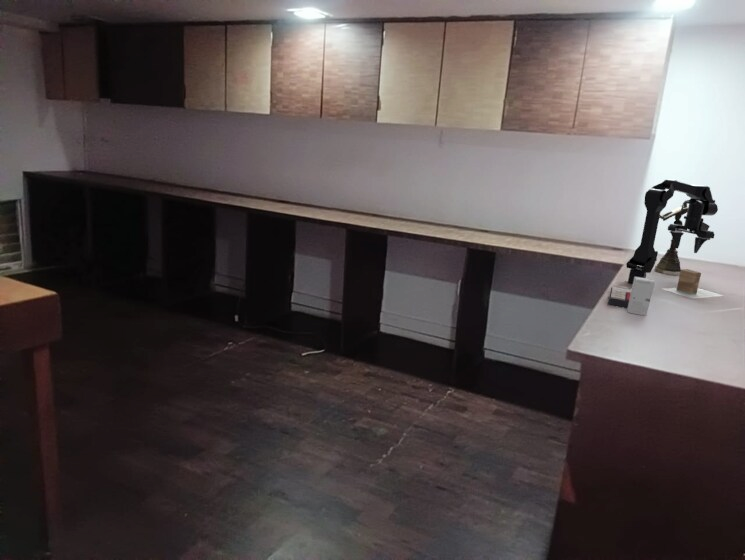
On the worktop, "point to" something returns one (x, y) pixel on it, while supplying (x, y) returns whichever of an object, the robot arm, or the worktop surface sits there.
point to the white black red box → (619, 297)
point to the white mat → (699, 294)
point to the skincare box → (640, 295)
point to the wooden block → (688, 282)
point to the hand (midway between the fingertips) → (685, 250)
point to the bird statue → (672, 245)
